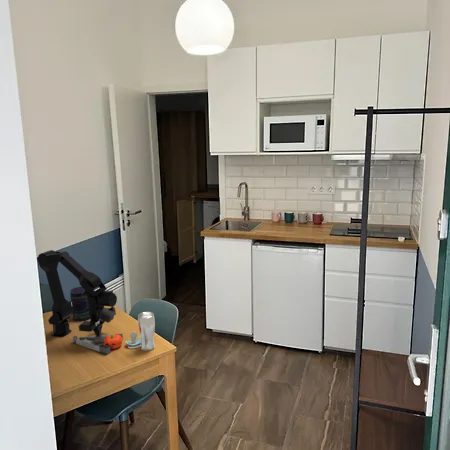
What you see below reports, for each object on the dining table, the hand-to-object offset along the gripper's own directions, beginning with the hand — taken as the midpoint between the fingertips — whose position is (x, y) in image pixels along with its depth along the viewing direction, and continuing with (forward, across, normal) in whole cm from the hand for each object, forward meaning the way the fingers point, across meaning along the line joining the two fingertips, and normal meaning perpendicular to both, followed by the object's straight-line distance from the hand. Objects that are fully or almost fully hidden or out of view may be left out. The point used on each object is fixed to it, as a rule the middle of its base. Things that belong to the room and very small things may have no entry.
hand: (99, 336), depth 186 cm
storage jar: (+1, +19, +22) cm, 29 cm away
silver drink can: (+2, -1, -25) cm, 25 cm away
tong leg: (+1, -1, -2) cm, 3 cm away
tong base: (+1, -8, -1) cm, 8 cm away
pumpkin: (+2, -4, -10) cm, 11 cm away
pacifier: (+2, -1, -18) cm, 18 cm away
